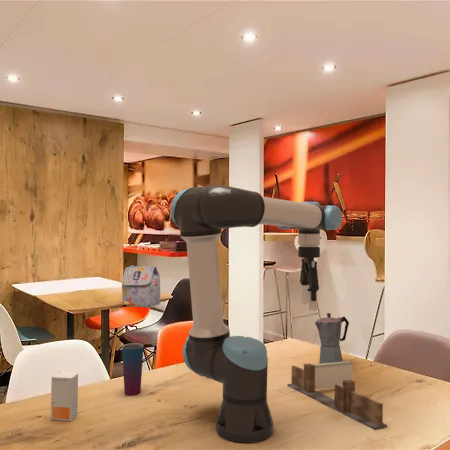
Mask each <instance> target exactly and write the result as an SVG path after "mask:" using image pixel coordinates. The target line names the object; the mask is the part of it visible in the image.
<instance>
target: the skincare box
mask: <svg viewBox="0 0 450 450" xmlns="http://www.w3.org/2000/svg"><path fill="white" fill-rule="evenodd" d="M50 389H51V390H50V393H51V394H50V396H51V397H50V420H55V421H65V422H72V421H73V420H74V419H75V418H77V416H78V411H79V409H78V408H79V407H78V402H79V400H78V399H79V395H78V394H79V373H76V372H75V373H74V372H62V371H61V372H57V373H55V374H54V375H52V376H51V388H50Z"/></svg>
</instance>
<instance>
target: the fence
mask: <svg viewBox="0 0 450 450" xmlns="http://www.w3.org/2000/svg"><path fill="white" fill-rule="evenodd" d="M313 364H314V363H304V364H303V368H301V367H299V366H297V365H294V364H293V365H291V383H287V386H288V387H289V388H290V389H291V388H292V389H293V390H295V391H297V392H299V393H301V394H303V395H305V396H307V397H309V398H311V399H313V400H315V401H317V402H319V403H321V404H322V405H325V406H327V407H329V408H331V409H333V410H335V411H337V412H339V413H341V414H343V415H344V416H347V417H349V418H350V419H353V420H355V421H356V422H358V423H361V424H362V425H364V426H366V427H368V428H370V429H372V430H375V431H378V430H381V429H384V428H387V427H388V424H386V423H384V422H383V418H384V417H383V416H384V414H383V413H384V411H383V409H384V408H383V407H384V404H383V403H382V402H380V401H378V400H376V399H373V398H370V397H368V396H367V395H363V394H361V393H359V392H357V391H355V390H356V389H355V388H356V381H354V380H353V381H352V380H349V379H348V380H343V387H341V386H339V385H335V387H334V392H333V393H334V394H333V395H334V398H332V397H329V396H328V395H325V394H323V393H322V392H320V391H318V390H315V389H314V379H315V365H313Z"/></svg>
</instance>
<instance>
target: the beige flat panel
mask: <svg viewBox="0 0 450 450" xmlns="http://www.w3.org/2000/svg"><path fill="white" fill-rule="evenodd" d="M312 364H313V365H315V379H314V390H315V391H317V390H323V389H333V388H334V389H335V385H339V386H341V387H343V380H348V379H349V380H352V381H354V379H353V378H354V377H353V375H354V374H353V373H354V372H353V371H354V366H353V365H354V362H353V361H352V360H345V361H343V362H333V363H322V364H320V363H312Z"/></svg>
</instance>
